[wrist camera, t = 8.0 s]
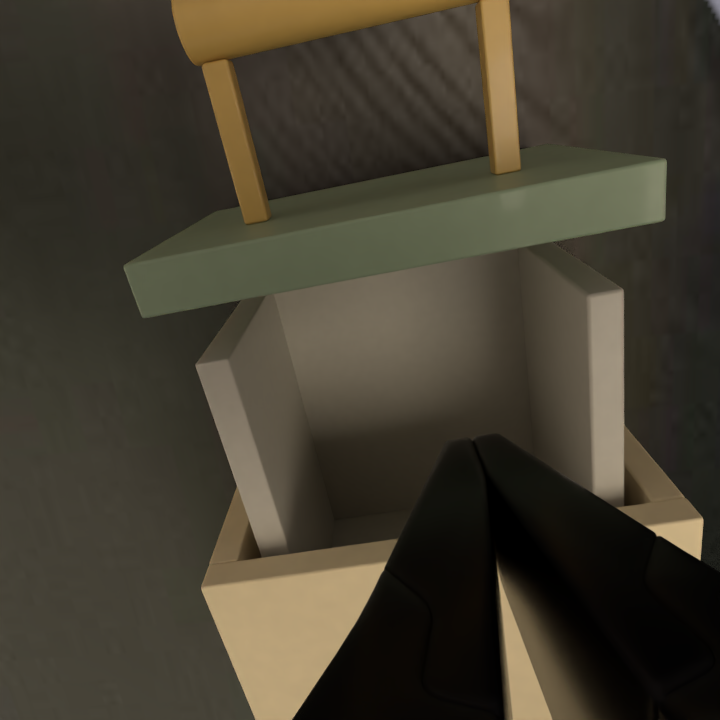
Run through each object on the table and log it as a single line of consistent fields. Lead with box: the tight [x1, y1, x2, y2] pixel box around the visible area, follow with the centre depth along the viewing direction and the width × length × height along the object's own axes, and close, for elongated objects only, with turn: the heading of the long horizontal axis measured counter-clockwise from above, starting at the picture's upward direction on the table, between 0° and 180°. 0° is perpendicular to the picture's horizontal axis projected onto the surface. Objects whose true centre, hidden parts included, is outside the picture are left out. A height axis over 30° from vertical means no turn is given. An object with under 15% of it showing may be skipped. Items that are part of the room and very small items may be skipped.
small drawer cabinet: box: [201, 425, 703, 720], centre depth 20 cm, size 14×12×9 cm
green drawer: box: [124, 0, 667, 558], centre depth 16 cm, size 18×11×7 cm, turn 11°
